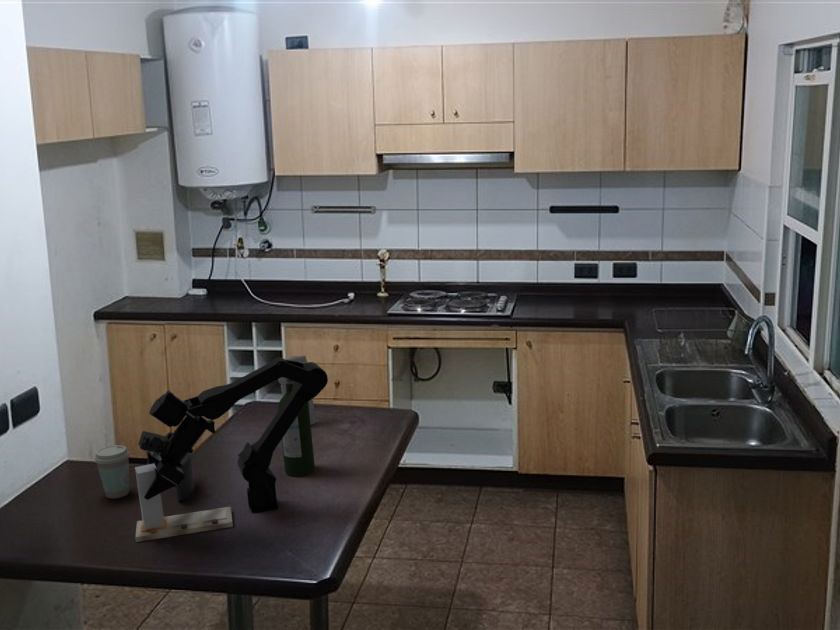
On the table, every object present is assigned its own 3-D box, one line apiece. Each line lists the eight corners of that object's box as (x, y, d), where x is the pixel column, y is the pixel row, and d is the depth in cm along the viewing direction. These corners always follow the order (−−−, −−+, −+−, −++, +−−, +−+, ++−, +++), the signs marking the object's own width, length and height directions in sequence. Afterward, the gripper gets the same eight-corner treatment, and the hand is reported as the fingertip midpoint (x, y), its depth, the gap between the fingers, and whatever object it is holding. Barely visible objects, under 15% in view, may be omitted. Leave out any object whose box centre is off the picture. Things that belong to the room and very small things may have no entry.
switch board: (231, 511, 238) (230, 504, 237) (232, 526, 229) (232, 519, 229) (137, 525, 233) (136, 518, 233) (136, 542, 224) (135, 534, 224)
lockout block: (162, 518, 233) (154, 463, 229) (164, 525, 228) (157, 469, 225) (142, 522, 231) (134, 467, 228) (145, 530, 227) (137, 473, 224)
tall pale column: (286, 432, 290) (278, 361, 284) (281, 428, 293) (273, 358, 288) (319, 424, 294) (312, 354, 289) (313, 420, 298) (307, 351, 293)
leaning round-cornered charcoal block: (196, 500, 245) (191, 465, 243) (177, 503, 244) (172, 468, 242) (194, 476, 261) (189, 443, 258) (176, 479, 260) (172, 446, 257)
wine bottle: (317, 464, 263) (307, 357, 256) (311, 476, 255) (300, 366, 248) (288, 465, 264) (277, 359, 257) (282, 477, 256) (270, 367, 249)
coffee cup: (124, 501, 248) (118, 457, 245) (94, 500, 249) (87, 456, 247) (140, 487, 256) (134, 444, 253) (110, 486, 258) (104, 444, 255)
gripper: (150, 408, 234) (109, 460, 232) (163, 431, 217) (118, 488, 215) (188, 432, 238) (147, 484, 237) (203, 457, 222) (159, 513, 220)
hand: (142, 491), depth 227 cm, fingers open, 9 cm apart
